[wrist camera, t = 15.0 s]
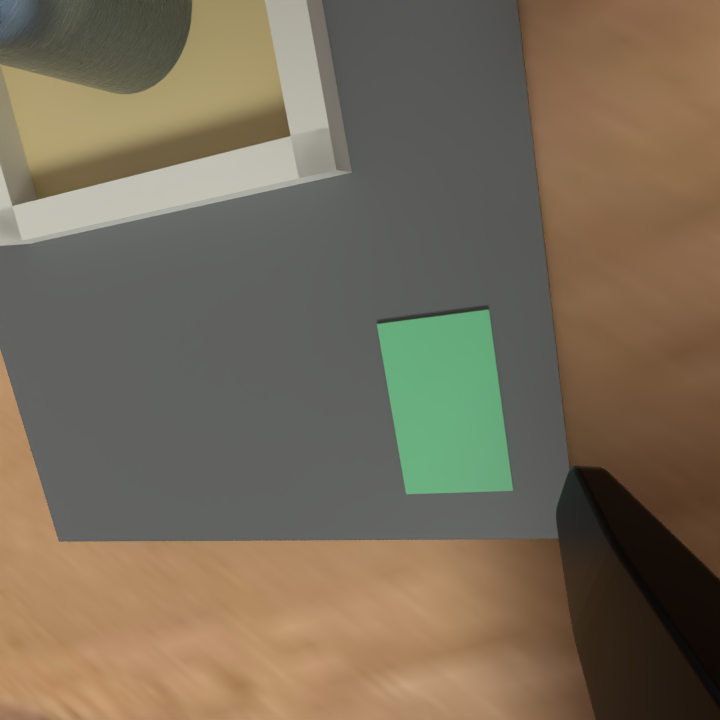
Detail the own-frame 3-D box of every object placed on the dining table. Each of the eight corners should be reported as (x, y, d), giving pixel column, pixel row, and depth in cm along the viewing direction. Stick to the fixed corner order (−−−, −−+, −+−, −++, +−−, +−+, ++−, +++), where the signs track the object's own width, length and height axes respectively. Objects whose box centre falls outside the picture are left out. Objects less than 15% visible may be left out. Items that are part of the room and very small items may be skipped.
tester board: (574, 512, 17) (579, 563, 15) (88, 521, 23) (32, 559, 21) (458, -521, 13) (436, -701, 10) (-116, -181, 18) (-221, -242, 16)
